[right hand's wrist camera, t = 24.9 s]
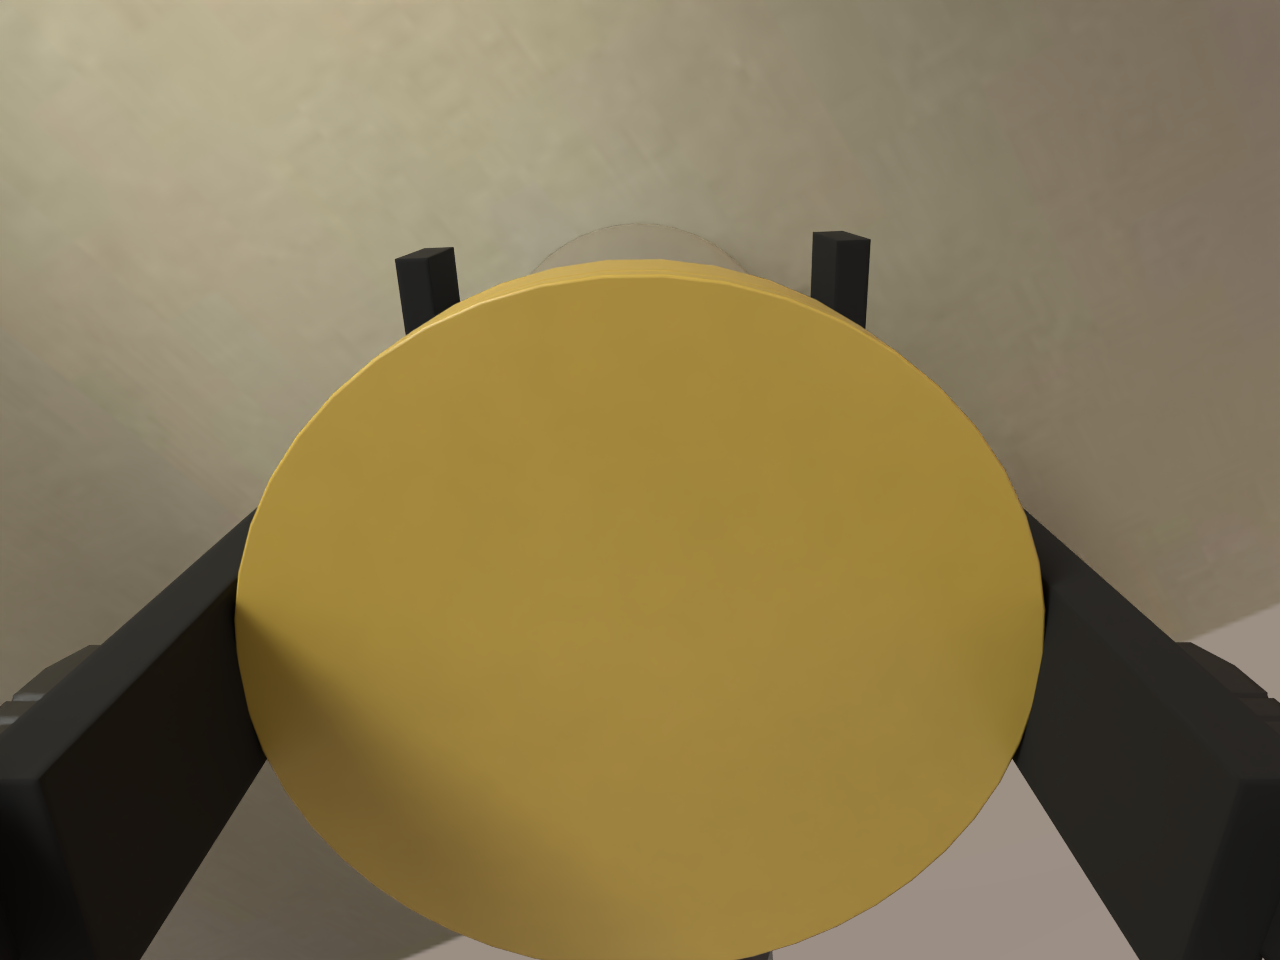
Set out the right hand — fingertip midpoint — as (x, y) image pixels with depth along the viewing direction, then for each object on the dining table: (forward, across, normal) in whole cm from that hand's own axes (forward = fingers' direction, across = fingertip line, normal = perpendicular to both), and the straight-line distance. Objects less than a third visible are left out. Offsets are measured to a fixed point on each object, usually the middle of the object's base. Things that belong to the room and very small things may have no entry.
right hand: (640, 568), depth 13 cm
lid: (-3, 0, 0) cm, 3 cm away
